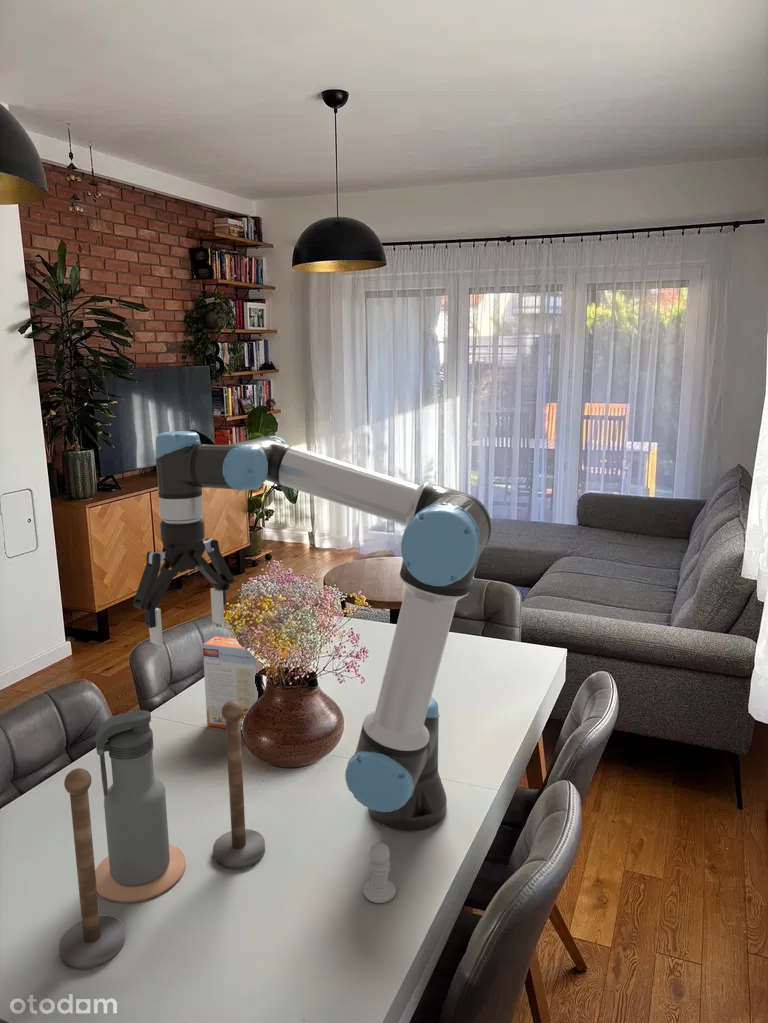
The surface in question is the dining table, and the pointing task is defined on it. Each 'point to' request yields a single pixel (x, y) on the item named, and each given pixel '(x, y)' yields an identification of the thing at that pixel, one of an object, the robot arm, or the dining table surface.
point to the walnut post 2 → (236, 803)
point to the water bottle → (133, 800)
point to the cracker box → (228, 678)
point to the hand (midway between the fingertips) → (188, 632)
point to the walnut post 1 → (87, 890)
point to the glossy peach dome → (142, 892)
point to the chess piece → (379, 875)
